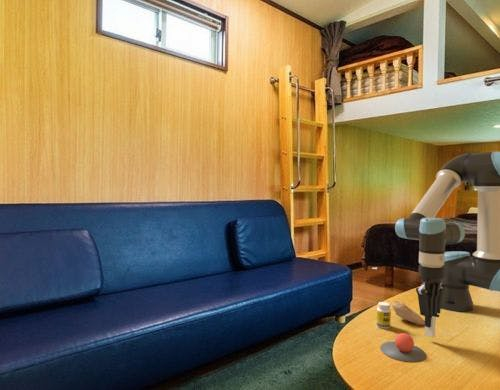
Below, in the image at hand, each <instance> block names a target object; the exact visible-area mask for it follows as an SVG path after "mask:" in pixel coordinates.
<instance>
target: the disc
mask: <svg viewBox="0 0 500 390" xmlns="http://www.w3.org/2000/svg"><path fill="white" fill-rule="evenodd" d="M379 348H380V350H381V352H382V353H383V354H384V355H385V356H387V357H389V358H391V359H394V360H396V361H400V362H404V363H405V362H407V363H419V362H420V363H421V362H422V361H425V360H426V359H427V354H426V352H425V351H424V349H422V348H421V347H418V345H414V347H413V349H412V350H411V351H410V352H402V351H400V350H399V349H398V348H397V347H396V345H395V341H387V342H383V343H382V344H381V345H380V347H379Z"/></svg>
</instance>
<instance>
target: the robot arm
mask: <svg viewBox="0 0 500 390" xmlns="http://www.w3.org/2000/svg"><path fill="white" fill-rule="evenodd" d="M435 178H436V179H435V180H434V182H433V183H432V184H431V185H430V187H429V189H428V190H427V191H426V192H425V193H424V195H423V197H422V198H421V199H420V201H419V202H418V204H417V205H416V206H415V207H414V209H413V210H412V212H411V213H410V214H409V216H408V217H404V218H402V217H401V218H399V219H397V221H396V222H395V225H394V230H395V234H396V235H397V236H398V237H399V238H402V239H407V240H415V241H419V245H418V246H419V249H418V250H419V251H418V264H419V265H418V276H420V278H421V282H420V286H419V287H416V288H415V292H416V293H417V300H418V307H419V315H421V316H423V317H424V321H425V323H424V336H427V337H429V338H432V339H433V338H435V337H436V320H437V319H436V318H439V317H440V314H441V311H442V309H444V310H450V311H453V312H455V311H456V312H471V311H473V310H474V301H473V299H472V295H471V293H470V286H472V287H476V288H481V289H485V290H490V291H491V292H492V291H494V292H495V291H496V292H500V151H489V152H488V151H486V152H475V153H473V152H472V153H463V154H460V155H458V156H455V157H454V158H451V159H450V160H448V162H446V163H444V165H442V167H440V168H439V170H438V171H437V173H436V175H435ZM462 183H463V184H464V183H473V188H474V189H476V190H477V223H476V224H477V229H476V230H477V232H476V234H477V235H476V238H477V239H476V242H477V243H476V251H474V252H472V256H471V253H470V252H469V251H455V250H454V251H446V246H448V245H456V244H458V243H460V242H462V241H463V240H464V239H465V236H466V231H465V228H464V227H463V225H462V224H460V223H458V222H456V221H447V222H446V220H445V219H444V218H441V217H436V216H437V215H438V213H439V211H440V210H441V208H442V207H443V205H444V204H445V202H446V201H447V200H448V198H449V197H450V195H451V193H453V191H454V190H455V189H457V188H458V187H459V186H460V185H461V184H462Z"/></svg>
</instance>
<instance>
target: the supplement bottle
mask: <svg viewBox="0 0 500 390" xmlns="http://www.w3.org/2000/svg"><path fill="white" fill-rule="evenodd" d="M390 308H391V305H390V303H389V302H386V301H379V302H378V304H377V308H376V327H377V328H380V329H385V330H387V329H390V328H391V316H392V315H391V313H392V312H391V309H390Z"/></svg>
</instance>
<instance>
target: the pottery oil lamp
mask: <svg viewBox="0 0 500 390" xmlns="http://www.w3.org/2000/svg"><path fill="white" fill-rule="evenodd" d="M391 308H392V310H393V312H394V313H395V315H396V316H397V317H399V318H401V319H402V320H403V321H409V322H410V323H413V324H416V325H417V326H425V319H424V318H423V317H421V316H420V314H418V312H415V311H414V310H413V309H412V308H411V307H409V306H408V305H406V304H405V303H404V302H401V301H396V300H393V302H392V303H391Z"/></svg>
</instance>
